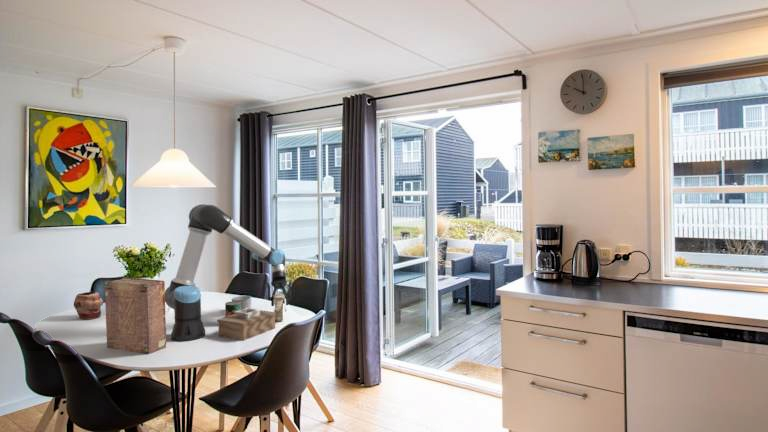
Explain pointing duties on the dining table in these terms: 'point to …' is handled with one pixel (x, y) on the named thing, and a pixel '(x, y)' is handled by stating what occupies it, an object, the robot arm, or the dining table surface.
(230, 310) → the canned tomato
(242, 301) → the teacup
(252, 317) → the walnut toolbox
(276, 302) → the beech peg
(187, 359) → the dining table surface
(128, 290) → the brown upright block
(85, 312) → the decorative planter
